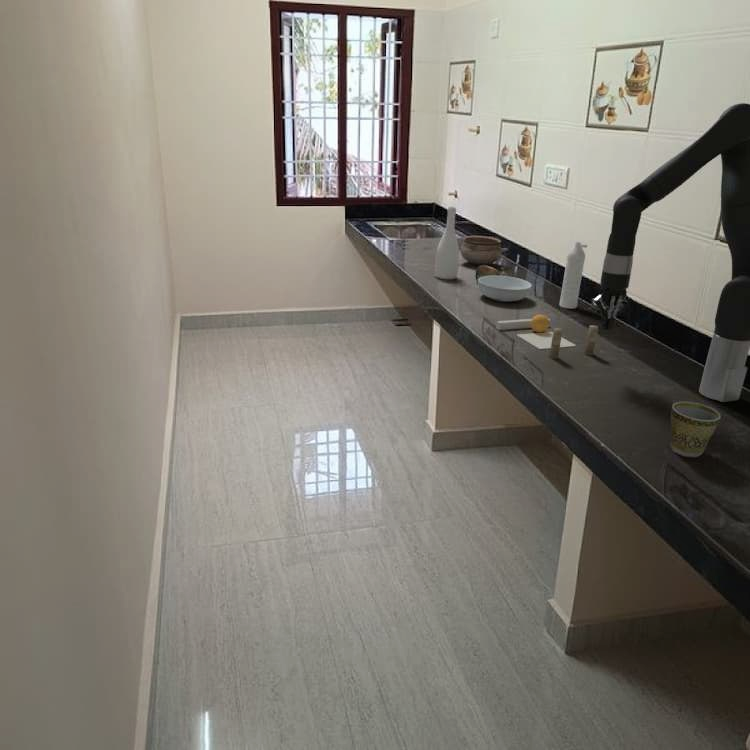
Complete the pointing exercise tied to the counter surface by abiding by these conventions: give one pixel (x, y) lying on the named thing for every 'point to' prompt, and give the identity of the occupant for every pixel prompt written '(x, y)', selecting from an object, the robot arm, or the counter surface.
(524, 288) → the serving bowl
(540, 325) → the ball
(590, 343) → the post right
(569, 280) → the white pump bottle
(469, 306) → the counter surface
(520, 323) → the wall
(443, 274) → the wine bottle
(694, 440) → the ceramic cup
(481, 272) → the tin
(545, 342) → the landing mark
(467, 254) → the cooking pot
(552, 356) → the post left
